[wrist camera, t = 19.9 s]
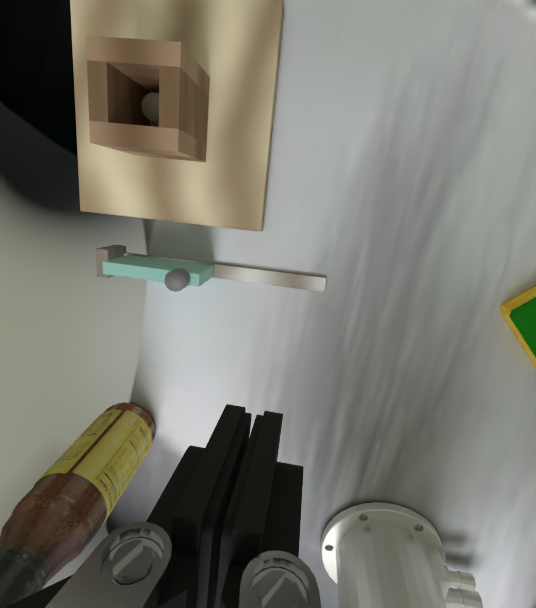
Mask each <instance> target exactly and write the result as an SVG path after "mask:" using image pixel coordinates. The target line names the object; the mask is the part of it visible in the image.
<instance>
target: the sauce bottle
mask: <svg viewBox="0 0 536 608" xmlns="http://www.w3.org/2000/svg"><path fill="white" fill-rule="evenodd" d="M154 437H155V428H154V423H153V420H152V419H151V417H150V415H149V413H148V412H146V411H145V410H143V409H142V408H140V407H138V406H136V405H134V404H131V403H119V404H116V405H113V406H111V407H109V408H108V409H107V410H106V411H105V412H104V413H102V414H101V415H100V416H99V417H98V418H97V419H96V420H95V421H94V422H93V423H92V424H91V425H90V426H89V427H88V428H87V429H86V430H85V431H84V432H83V433H82V434H81V436H80V437H79V438H78V439H77V440H76V441H75V442H74V443H73V444H72V445H71V446H70V447H69V448H68V449H67V451H66V452H65V453H64V454H63V455H62V456H61V457H60V458H59V459H58V460H57V461H56V462H55V463H54V464H53V465H52V466H51V467H50V468H49V469H48V470H47V472H45V474H44V475H43V476H42V477H41V478H40V479H39V480H38V481H37V482H36V484H35V485H34V487H33V488H32V490H31V491H30V492H29V493H28V494H26V496H25V497H24V498H23V499H22V500H21V501H20V502H19V503H18V504H17V506H16V507H15V509H14V510H13V512H12V515H11V517H10V518H9V519H8V521H7V522H6V523H5V525H4V526H3V528H2V532H1V536H0V608H5V607H7V606H9V605H11V604H13V603H15V602H17V601H19V600H22V599H24V598H26V597H28V596H30V595H32V594H34V593H36V592H38V591H40V590H42V589H43V587H44V585H45V584H46V583H47V582H48V581H49V580H50V579H51V578H52V577H53V576H54V575H55V574H56V573H58V572H59V571H60V570H61V569H62V568H63V567H64V566H65V565H66V564H67V563H69V562H70V561H72V560H73V559H74V558H76V557H77V556H78V555H79V554H80V553H81V552H82V551H83V550H84V549H85V547H86V546H87V545H88V544H89V543H90V542H91V541H92V540H93V538H94V537H95V536H96V534H97V533H98V532H99V530H100V528H101V527H102V525H103V524H104V522H105V521H106V519H107V517H108V516H109V514H110V512H111V511H112V509H113V507H114V506H115V504H116V503H117V501H118V499H119V498H120V496H121V495H122V493H123V491H124V490H125V488H126V487H127V485H128V483H129V482H130V480H131V478H132V477H133V475H134V473H135V472H136V470H137V469H138V467H139V466H140V464H141V462H142V461H143V459H144V458H145V456H146V454H147V453H148V451H149V449H150V447H151V443H152V441H153V439H154Z"/></svg>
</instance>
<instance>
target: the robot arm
mask: <svg viewBox="0 0 536 608" xmlns="http://www.w3.org/2000/svg"><path fill="white" fill-rule="evenodd" d="M282 419H283V414H281V413H275V412H269V411H265V412H264V415H263V416H262V415H256V419H255V422H254V425H253V428H252V432H251V435H250V426H251V413H245V407H240V406H234V405H228V404H227V405H226V407H225V409H224V411H223V413H222V415H221V417H220V419H219V421H218V423H217V425H216V427H215V429H214V431H213V433H212V435H211V438H210V440H209V442H208V444H207V446H206V448H201V447H196V446H189V447H188V449H187V450H186V452H185V454H184V455H183V457H182V459H181V461H180V463H179V464H178V466H177V468H176V470H175V471H174V473H173V475H172V477H171V479H170V480H169V482H168V484H167V486H166V487H165V489H164V491H163V493H162V495H161V496H160V498H159V500H158V502H157V503H156V505H155V507H154V509H153V511H152V512H151V514H150V516H149V518H148V519H147V521H146V522H135V523H131V524H128V525H124V526H122V527H120V528H118V529H116V530H115V531H113V532H111V533H110V534H109V535H108V536H107V537H106V538H105V539H104V540H103V541H101V543H100V544H99V545H98V546H97V547H96V548H95V550H94V551H93V552H92V553H91V554H90V556H89V557H88V558H87V559H86V560H85V561H84V563H83V564H82V565H81V566H80V567H79V568H78V570H77V571H76V572H75V573H74V574H73V575H71V576H69V577H67V578H65V579H63V580H61V581H59V582H57V583H55V584H53V585H51V586H49V587H47V588H44V589H42V590H40V591H38V592H36V593H34V594H32V595H30V596H28V597H26V598H24V599H22V600H19V601H17V602H15V603H13V604H11V605H9V606H7V607H5V608H213V607H214V603H215V599H216V604H215V608H321V601H320V594H319V589H318V585H317V582H316V578H315V576H314V575H313V573H312V572H311V570H310V568H309V567H308V566H307V565H306V564H305V563H304V562H303V561H302V560H301V559H300V558H298V555H299V538H300V520H301V502H302V485H303V466H298V465H292V464H287V463H282V462H277V457H278V449H279V442H280V434H281V426H282ZM249 435H250V438H249ZM321 557H322V562H323V565H324V567H325V570H326V571H327V573H328V574H329V576H330V577H331V578H332V579H333V580H334V581H335V582H336V584H337V586H338V603H339V608H483V604H482V600H481V597H480V595H479V593H478V592H476V591H474V590H475V587H476V585H475V579H474V577H473V575H472V574H470V573H465V572H460V571H457V572H456V571H451V570H449V569H448V568H447V566H444V565H445V552H444V548H443V545H442V542H441V540H440V537H439V535H438V533H437V532H436V530H435V528H434V527H433V526H432V525H431V524H430V523H429V521H427V520H426V519H425V518H424V517H422V516H421V515H420V514H418V513H416V512H414V511H412V510H411V509H408V508H405V507H402V506H400V505H396V504H390V503H378V502H373V503H364V504H360V505H356V506H353V507H350V508H348V509H346V510H344V511H342V512H340V513H339V514H338V515H336V516H335V517H334V518H333V519H332V520H331V521H330V522H329V523H328V524H327V526H326V528H325V530H324V532H323V535H322V539H321ZM450 586H454V587H458V588H452V587H450Z"/></svg>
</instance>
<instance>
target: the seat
mask: <svg viewBox="0 0 536 608" xmlns="http://www.w3.org/2000/svg"><path fill="white" fill-rule="evenodd" d="M70 6H71V26H72V47H73V67H74V88H75V108H76V129H77V149H78V170H79V190H80V210H81V211H86V212H95V213H103V214H112V215H121V216H129V217H138V218H147V219H155V220H164V221H173V222H181V223H190V224H199V225H207V226H216V227H225V228H234V229H242V230H251V231H260V232H261V231H263V222H264V211H265V201H266V190H267V180H268V170H269V159H270V149H271V138H272V128H273V118H274V107H275V97H276V86H277V76H278V65H279V55H280V45H281V34H282V24H283V13H284V8H283V1H278V0H70ZM86 36H101V37H116V38H131V39H146V40H161V41H176V42H181V43H182V44H183V45H184V46H185V47H186V49H187V50H188V51H189V52H190V54H191V55H192V56H193V57H194V59H195V60H196V61H197V62H198V63H199V65H200V66H201V67H202V68H203V70H204V71H205V72H206V73H207V75H208V76H209V77H210V88H209V108H208V128H207V149H206V162H197V161H187V160H177V159H167V158H157V157H147V156H137V155H132V154H128V153H125V152H121V151H118V150H114V149H111V148H107V147H104V146H100V145H97V144H93V143H90V132H89V105H88V79H87V52H86ZM141 107H142V112H143V114H144V116H145V117H146V118H147V119H149V120H150V126H152V127H159V93H155V92H151V93H149V94H147V95H146V96H145V97H144V98H143V100H142V105H141ZM96 253H97V254H96V255H97V276H98V277H106V278H109V277H112V276H115V275H108V274H103V261H107V260H111V259H115V258H119V257H122V256H126V255H132V256H140V257H148V258H156V259H164V260H172V261H180V262H188V263H196V264H203V265H211V266H213V277H214V278H222V279H230V280H237V281H245V282H253V283H261V284H268V285H276V286H284V287H292V288H299V289H307V290H315V291H322V292H324V291H325V285H326V278H324V277H316V276H308V275H301V274H293V273H285V272H277V271H269V270H261V269H253V268H245V267H237V266H229V265H221V264H213V263H205V262H197V261H189V260H181V259H173V258H165V257H157V256H149V255H141V254H133V253H126V246H121V245H112V246H107V247H102V248H97V249H96Z"/></svg>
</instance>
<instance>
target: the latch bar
mask: <svg viewBox="0 0 536 608" xmlns="http://www.w3.org/2000/svg"><path fill="white" fill-rule="evenodd" d="M103 274H108V275H115V276H123V277H131V278H138V279H145V280H153V281H160V282H165V284H166V286H167V288H168V289H170V290H172V291H180V290H182V289H183V288H185V287H186V286H188V285H191V286H198V287H199V286H200V285H202V284H203V283H205V282H206V281H207V280H209V279H210V278H212V277H213V266H211V265H203V264H196V263H188V262H180V261H172V260H164V259H156V258H148V257H140V256H132V255H126V256H122V257H119V258H115V259H111V260H107V261H103Z"/></svg>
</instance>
